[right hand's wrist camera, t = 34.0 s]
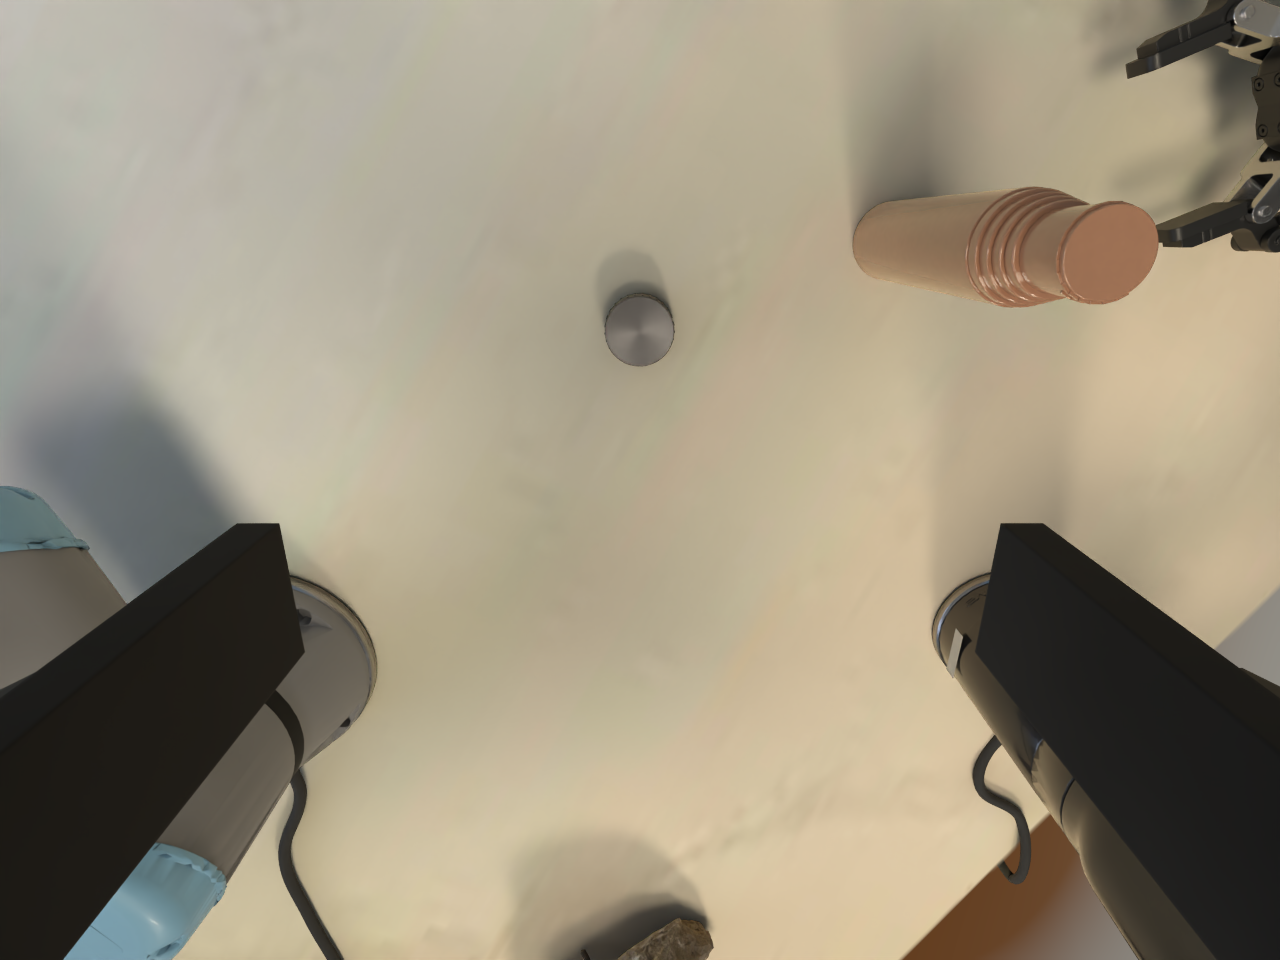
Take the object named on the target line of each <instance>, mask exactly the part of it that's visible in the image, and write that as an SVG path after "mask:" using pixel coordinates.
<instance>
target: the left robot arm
mask: <svg viewBox="0 0 1280 960" xmlns="http://www.w3.org/2000/svg"><path fill="white" fill-rule="evenodd" d="M1213 45H1217V46H1220V47H1223V48H1226V49H1229V52H1228V53H1229V54H1230V55H1232V56H1235V57H1238V58H1241V59H1244V60H1247V61H1250V62H1253V63H1256V64H1259V65H1260V68H1259V71H1258V75H1257V76H1255V77H1252V89H1253V95H1254V98H1255V100H1256V103H1257V105H1258V113H1257V119H1256V135H1257V140H1258V139H1263V140H1264V143H1263V145H1262V146H1261V147H1260V148H1259V150H1258V151H1257V152H1256V153H1255V155H1254V156H1253V157H1252V158H1251V159H1250V161H1249V162H1248V163H1247V164H1246V166H1245V167H1244V168H1243V169H1242V171H1241V173H1240V175H1241V177H1242V179H1241V180H1240V182H1239V183H1238V184H1237V185H1236V187H1235V188H1234V189H1233V190H1232V191H1231V193H1230V194H1229V195H1228V196H1227V198H1226V199H1225V200H1224V201H1223V202H1218V203H1211V204H1209V205H1206V206H1203V207H1201V208H1198V209H1196V210H1193V211H1191V212H1188V213H1186V214H1183V215H1181V216H1178V217H1176V218H1173V219H1171V220H1168V221H1166V222H1163V223H1161V224H1158V225H1156V228H1157V232H1158V241H1159V242H1161V243H1163V247H1194V246H1197V245H1199V244H1202V243H1204V242H1207V241H1210V240H1212V239H1215V238H1217V237H1220V236H1222V235H1225V234H1228V233H1230V232H1231V234H1232V235H1233V237H1232V239H1231V247H1232V248H1233V249H1234V250H1236V251H1265V252H1280V212H1278V211H1279V209H1280V7H1278V6H1275V5H1272V4H1270V3H1267V2H1264V1H1261V0H1208V4H1207V6H1206V8H1205V10H1204V12H1203V13H1202V14H1201V15H1200V16H1199V17H1198V18H1196V19H1194V20H1192V21H1190V22H1187V23H1185V24H1183V25H1180V26H1178V27H1176V28H1173V29H1171V30H1169V31H1167V32H1164V33H1162V34H1160V35H1157V36H1155V37H1153V38H1150V39H1148V40H1146V41H1145V42H1144V43H1143V44H1142V45H1140V46H1139V47H1138V48H1137V54H1138V59H1137V60H1134V61H1132V62H1130V63H1128V64H1126V72H1127V79H1129V78H1132V77H1135V76H1138V75H1142V74H1145V73H1148V72H1151V71H1154V70H1156V69H1159V68H1161V67H1164V66H1166V65H1168V64H1171V63H1173V62H1175V61H1178V60H1180V59H1183V58H1185V57H1187V56H1190V55H1192V54H1194V53H1197V52H1199V51H1201V50H1204V49H1206V48H1208V47H1211V46H1213ZM1277 212H1278V213H1277ZM990 575H991V574H989V575H985V576H981V577H979V578H976V579H974V580H972V581H970V582H968V583H966V584H964V585H963V586H961V587H960V588H958V589H957V590H956V591H955V592H953V593H952V594H951V595H950V596H949V597H948V598H947V600H946V601H945V602H944V603H943V605H942V606H941V608H940V610H939V611H938V613H937V616H936V618H935V621H934V625H933V643H934V647H935V650H936V652H937V654H938V656H939V657H940V659H941V660H942V661H943V663H944V664H945V666H946V667H947V668H946V669H947V670H948V672H949V673H950V675H951V676H952V678H953V677H954V676H955V678H956V679H957V681H958V682H959V683H960V685H961V687H962V688H963V690H964V691H965V692H966V694H967V695H968V697H969V698H970V700H971V701H972V702H973V704H974V705H975V707H976V708H977V710H978V711H979V712H980V714H981V715H982V717H983V718H984V720H985V721H986V722H987V724H988V725H989V727H990V728H991V730H992V731H993V732H994V734H995V736H994V737H993V738H992V739H991V740H990V742H989V743H988V744H987V745H986V747H985V748H984V749H983V751H982V753H981V754H980V756H979V758H978V760H977V763H976V766H975V770H974V777H973V780H974V786H975V789H976V791H977V793H978V794H979V796H980V797H981V798H982V799H984V800H985V801H987V802H988V803H990V804H992V805H994V806H996V807H999V808H1001V809H1003V810H1005V811H1007V812H1008V813H1010V814H1011V815H1012V816H1013V817H1014V818H1015V820H1016V823H1017V826H1018V830H1019V835H1020V845H1021V852H1020V862H1019V867H1018V870H1017V872H1016V873H1015V874H1013V873H1012V872H1011V871H1010V869H1009V868H1008V866H1007V865H1006V863H1005V861H1004V860H1003V859H1002V860H1001V861H1000V862H999V863H998V864H997V866H998V867H999V869H1000V871H1001V872H1002V873H1003V875H1004V876H1005V877H1006V879H1007V880H1008V881H1010V882H1011V883H1014V884H1020V883H1022V882H1023V881H1024V880H1025V878H1026V876H1027V874H1028V870H1029V866H1030V860H1031V841H1030V833H1029V829H1028V825H1027V822H1026V819H1025V817H1024V816H1023V814H1022V812H1021V811H1020V810H1019V809H1018V808H1017V807H1016V806H1015V805H1013V804H1011V803H1010V802H1008V801H1006V800H1003V799H1001V798H999V797H997V796H995V795H993V794H991V793H990V792H989V791H988V790H987V789H986V788H985V785H984V774H985V770H986V767H987V765H988V762H989V760H990V759H991V757H992V755H993V754H994V753H995V751H996V750H997V749H998V748H999V747H1000V746H1001V745H1003V747H1004V748H1005V750H1006V751H1007V752H1008V754H1009V755H1010V757H1011V758H1012V760H1013V761H1014V763H1015V764H1016V765H1017V767H1018V768H1019V770H1020V771H1021V773H1022V774H1023V775H1024V777H1025V778H1026V780H1027V781H1028V783H1029V784H1030V785H1031V787H1032V788H1033V790H1034V791H1035V793H1036V794H1037V795H1038V796H1039V798H1040V799H1041V801H1042V802H1043V804H1044V805H1045V806H1046V808H1047V809H1048V811H1049V812H1050V814H1051V815H1052V816H1053V818H1054V819H1055V821H1056V822H1057V824H1058V825H1059V826H1060V828H1061V829H1062V831H1063V832H1064V833H1065V835H1066V836H1067V838H1068V839H1069V841H1070V842H1071V844H1072V845H1073V847H1074V848H1075V850H1076V851H1077V853H1078V854H1079V856H1080V860H1081V863H1082V867H1083V870H1084V873H1085V875H1086V878H1087V880H1088V882H1089V883H1090V885H1091V887H1092V889H1093V890H1094V892H1095V894H1096V895H1097V897H1098V898H1099V900H1100V901H1101V903H1102V905H1103V906H1104V908H1105V909H1106V911H1107V912H1108V914H1109V915H1110V917H1111V918H1112V920H1113V921H1114V923H1115V925H1116V926H1117V928H1118V929H1119V931H1120V932H1121V934H1122V935H1123V937H1124V938H1125V940H1126V941H1127V943H1128V945H1129V946H1130V948H1131V949H1132V951H1133V952H1134V954H1135V955H1136V957H1137V958H1138V960H1217V959H1216V958H1215V957H1214V956H1213V954H1212V953H1211V952H1210V951H1209V949H1208V948H1207V947H1206V945H1205V944H1204V943H1203V942H1202V940H1201V939H1200V938H1199V937H1198V935H1197V934H1196V933H1195V931H1194V930H1193V929H1192V928H1191V926H1190V925H1189V924H1188V923H1187V921H1186V920H1185V919H1184V917H1183V916H1182V915H1181V914H1180V912H1179V911H1178V910H1177V909H1176V907H1175V906H1174V905H1173V903H1172V902H1171V901H1170V900H1169V898H1168V897H1167V896H1166V895H1165V893H1164V892H1163V891H1162V889H1161V888H1160V887H1159V886H1158V884H1157V883H1156V882H1155V881H1154V879H1153V878H1152V877H1151V875H1150V874H1149V873H1148V872H1147V870H1146V869H1145V868H1144V867H1143V865H1142V864H1141V863H1140V862H1139V860H1138V859H1137V858H1136V856H1135V855H1134V854H1133V853H1132V851H1131V850H1130V849H1129V848H1128V846H1127V845H1126V844H1125V842H1124V841H1123V840H1122V839H1121V837H1120V836H1119V835H1118V834H1117V832H1116V831H1115V830H1114V828H1113V827H1112V826H1111V825H1110V823H1109V822H1108V821H1107V820H1106V818H1105V817H1104V816H1103V814H1102V813H1101V812H1100V811H1099V809H1098V808H1097V807H1096V806H1095V804H1094V803H1093V802H1092V800H1091V799H1090V798H1089V797H1088V795H1087V794H1086V793H1085V792H1084V790H1083V789H1082V788H1081V786H1080V785H1079V784H1078V783H1077V781H1076V780H1075V779H1074V778H1073V776H1072V775H1071V774H1070V773H1069V771H1068V770H1067V769H1066V767H1065V766H1064V765H1063V764H1062V762H1061V761H1060V760H1059V759H1058V757H1057V756H1056V755H1055V753H1054V752H1053V751H1052V750H1051V748H1050V747H1049V746H1048V745H1047V743H1046V742H1045V741H1044V739H1043V738H1042V737H1041V736H1040V734H1039V733H1038V732H1037V731H1036V729H1035V728H1034V727H1033V725H1032V724H1031V723H1030V722H1029V720H1028V719H1027V718H1026V717H1025V715H1024V714H1023V713H1022V711H1021V710H1020V709H1019V708H1018V706H1017V705H1016V704H1015V703H1014V701H1013V700H1012V699H1011V697H1010V696H1009V695H1008V694H1007V692H1006V691H1005V690H1004V689H1003V687H1002V686H1001V685H1000V683H999V682H998V681H997V680H996V678H995V677H994V676H993V675H992V673H991V672H990V671H989V670H988V668H987V667H986V666H985V664H984V663H983V662H982V661H981V659H980V658H979V657H978V656H977V654H976V653H975V649H976V644H977V639H978V634H979V629H980V624H981V619H982V614H983V609H984V604H985V599H986V594H987V589H988V584H989V580H990Z"/></svg>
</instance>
